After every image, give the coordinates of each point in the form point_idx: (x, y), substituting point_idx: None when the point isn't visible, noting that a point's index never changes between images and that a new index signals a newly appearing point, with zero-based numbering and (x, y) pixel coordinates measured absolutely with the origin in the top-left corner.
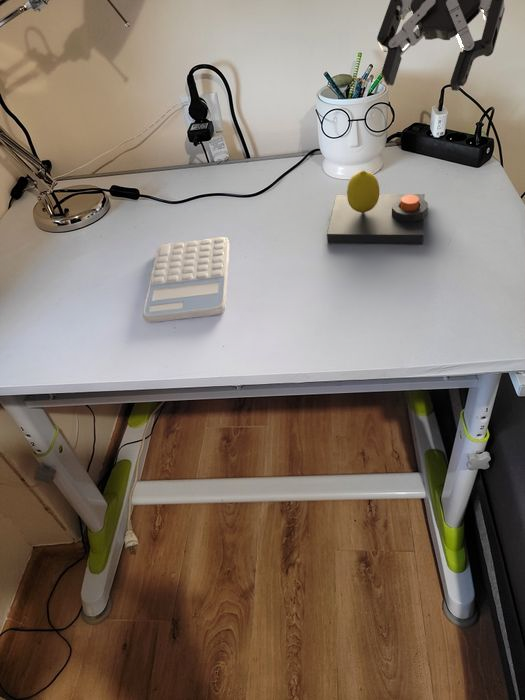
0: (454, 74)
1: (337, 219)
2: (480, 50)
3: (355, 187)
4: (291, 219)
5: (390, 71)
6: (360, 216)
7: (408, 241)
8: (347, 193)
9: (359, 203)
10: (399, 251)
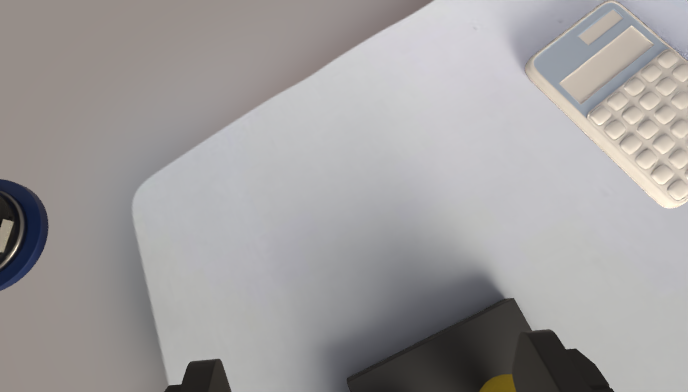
0: (200, 390)
1: None
2: None
3: None
4: (626, 339)
5: (539, 353)
6: None
7: (371, 367)
8: None
9: (499, 376)
10: (374, 338)
